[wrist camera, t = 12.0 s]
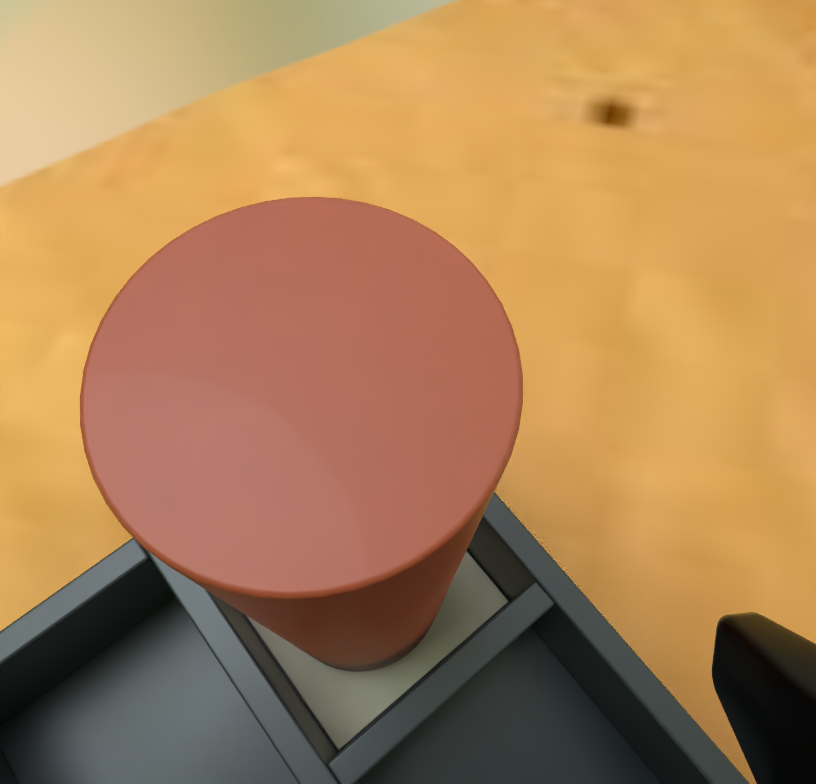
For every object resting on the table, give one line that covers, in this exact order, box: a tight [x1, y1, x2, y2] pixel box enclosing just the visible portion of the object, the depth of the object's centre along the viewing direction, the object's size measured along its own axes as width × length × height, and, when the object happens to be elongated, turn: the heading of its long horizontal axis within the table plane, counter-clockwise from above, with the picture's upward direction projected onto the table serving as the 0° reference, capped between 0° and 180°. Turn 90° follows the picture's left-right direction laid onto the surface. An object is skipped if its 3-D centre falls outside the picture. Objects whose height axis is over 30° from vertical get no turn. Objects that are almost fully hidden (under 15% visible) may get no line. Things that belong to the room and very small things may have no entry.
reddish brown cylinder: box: [80, 197, 523, 672], centre depth 12 cm, size 4×4×12 cm
